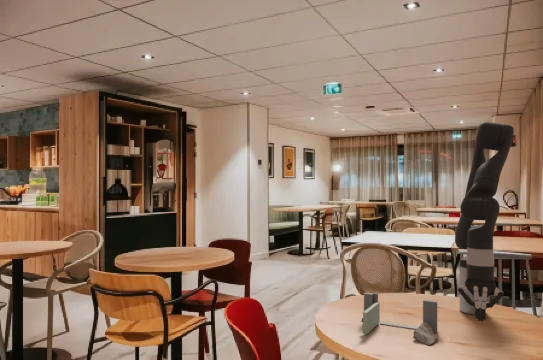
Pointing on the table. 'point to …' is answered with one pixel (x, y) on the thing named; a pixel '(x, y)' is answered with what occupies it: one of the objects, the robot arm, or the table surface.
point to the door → (371, 317)
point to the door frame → (428, 316)
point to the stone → (425, 334)
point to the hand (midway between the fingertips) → (480, 320)
